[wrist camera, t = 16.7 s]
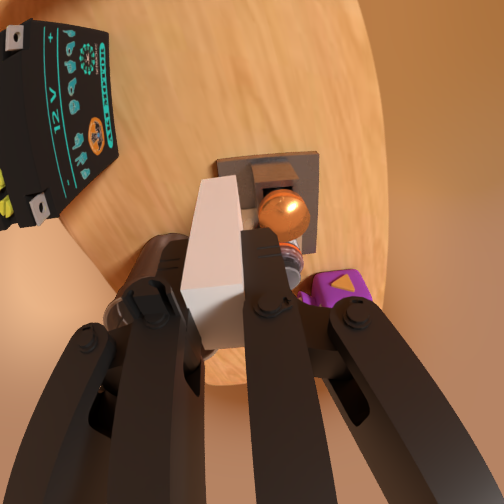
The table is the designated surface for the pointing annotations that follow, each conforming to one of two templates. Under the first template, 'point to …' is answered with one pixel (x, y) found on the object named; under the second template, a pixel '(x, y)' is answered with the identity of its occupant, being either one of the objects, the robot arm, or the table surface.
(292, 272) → the supplement bottle
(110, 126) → the battery
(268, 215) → the plunger
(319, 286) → the toy camera
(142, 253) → the plant pot
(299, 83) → the table surface
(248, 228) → the base
